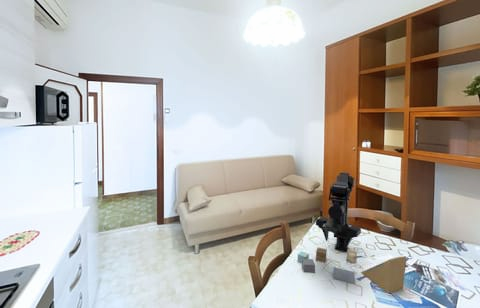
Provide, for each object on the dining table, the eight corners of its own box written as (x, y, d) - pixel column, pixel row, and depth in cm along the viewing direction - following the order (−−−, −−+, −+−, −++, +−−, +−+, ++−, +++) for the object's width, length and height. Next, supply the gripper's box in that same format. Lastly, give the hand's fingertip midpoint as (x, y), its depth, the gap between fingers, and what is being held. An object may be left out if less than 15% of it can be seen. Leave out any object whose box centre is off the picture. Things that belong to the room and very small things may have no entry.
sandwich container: (374, 269, 119) (376, 239, 117) (403, 289, 104) (407, 256, 103) (359, 272, 116) (361, 241, 115) (387, 293, 102) (390, 259, 100)
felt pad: (334, 267, 119) (334, 267, 119) (354, 272, 116) (354, 271, 116) (332, 278, 111) (332, 277, 111) (354, 283, 108) (354, 283, 108)
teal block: (301, 258, 128) (301, 251, 127) (308, 261, 125) (308, 253, 125) (297, 261, 125) (297, 254, 124) (305, 264, 122) (305, 257, 122)
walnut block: (317, 256, 130) (317, 247, 129) (326, 258, 128) (326, 249, 128) (315, 260, 126) (316, 251, 125) (325, 262, 124) (325, 253, 124)
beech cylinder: (346, 257, 129) (347, 248, 128) (355, 259, 127) (356, 250, 126) (346, 262, 125) (347, 252, 124) (356, 264, 123) (356, 254, 122)
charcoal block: (302, 266, 121) (302, 258, 120) (312, 267, 120) (312, 259, 120) (303, 272, 116) (304, 264, 115) (314, 273, 115) (315, 265, 115)
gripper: (310, 210, 113) (309, 243, 115) (353, 222, 101) (350, 258, 103) (321, 204, 121) (320, 235, 123) (362, 214, 109) (360, 248, 111)
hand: (336, 243), depth 115 cm, fingers open, 9 cm apart
